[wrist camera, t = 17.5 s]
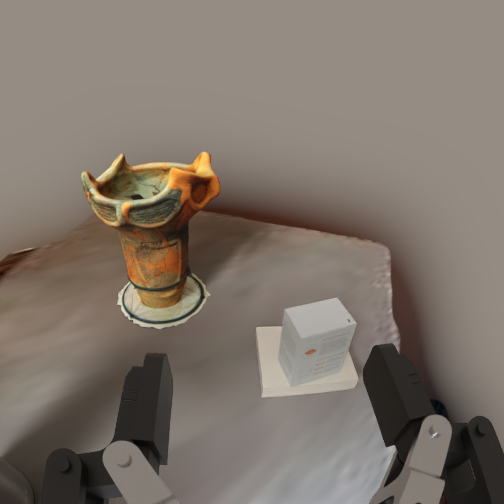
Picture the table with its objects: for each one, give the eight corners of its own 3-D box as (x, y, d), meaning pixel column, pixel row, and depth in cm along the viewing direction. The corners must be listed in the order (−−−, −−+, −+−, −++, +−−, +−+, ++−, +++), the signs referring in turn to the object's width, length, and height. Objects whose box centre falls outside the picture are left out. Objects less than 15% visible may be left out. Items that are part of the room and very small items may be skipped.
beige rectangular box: (261, 397, 42) (263, 388, 41) (255, 337, 52) (255, 327, 51) (354, 388, 43) (358, 379, 42) (335, 333, 53) (338, 323, 52)
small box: (324, 347, 47) (338, 295, 42) (340, 373, 43) (359, 323, 37) (275, 359, 45) (283, 307, 40) (289, 388, 41) (301, 338, 35)
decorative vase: (120, 261, 69) (108, 139, 54) (220, 270, 70) (227, 141, 55) (86, 325, 51) (50, 176, 36) (210, 342, 52) (214, 180, 37)
